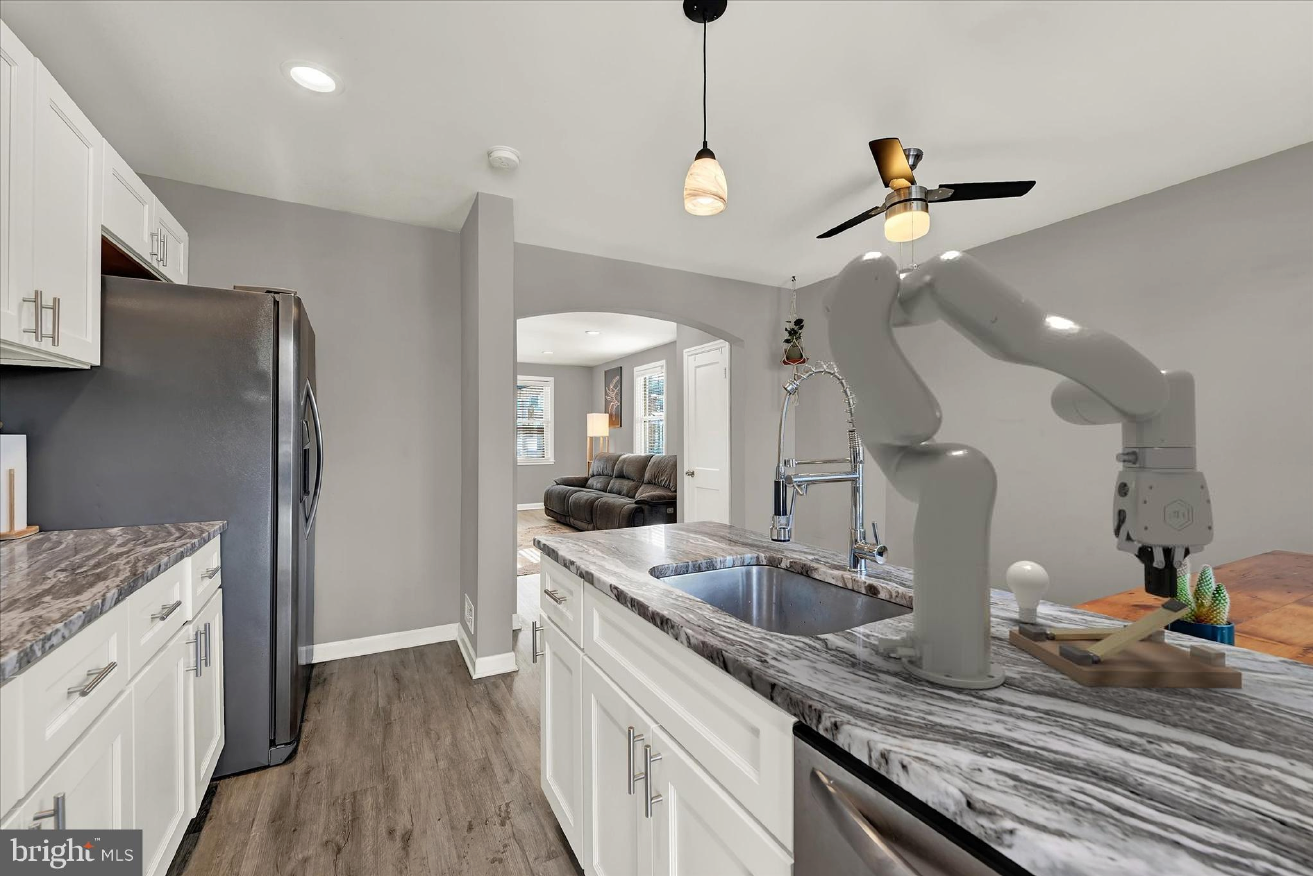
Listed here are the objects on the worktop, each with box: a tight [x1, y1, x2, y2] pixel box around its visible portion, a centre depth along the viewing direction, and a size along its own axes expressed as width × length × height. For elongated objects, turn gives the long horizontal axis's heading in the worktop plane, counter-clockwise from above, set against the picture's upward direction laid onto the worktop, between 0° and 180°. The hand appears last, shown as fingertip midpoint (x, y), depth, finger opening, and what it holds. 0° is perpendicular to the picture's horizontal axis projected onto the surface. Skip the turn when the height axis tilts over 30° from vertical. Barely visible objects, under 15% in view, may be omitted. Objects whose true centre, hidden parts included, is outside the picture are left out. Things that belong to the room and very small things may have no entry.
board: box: [1008, 623, 1243, 689], centre depth 80 cm, size 20×16×4 cm
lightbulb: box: [1005, 560, 1051, 625], centre depth 97 cm, size 6×6×11 cm
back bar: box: [1038, 624, 1148, 640], centre depth 84 cm, size 15×2×1 cm, turn 89°
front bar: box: [1083, 598, 1192, 664], centre depth 75 cm, size 15×2×1 cm, turn 89°
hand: (1160, 595), depth 75 cm, fingers closed
